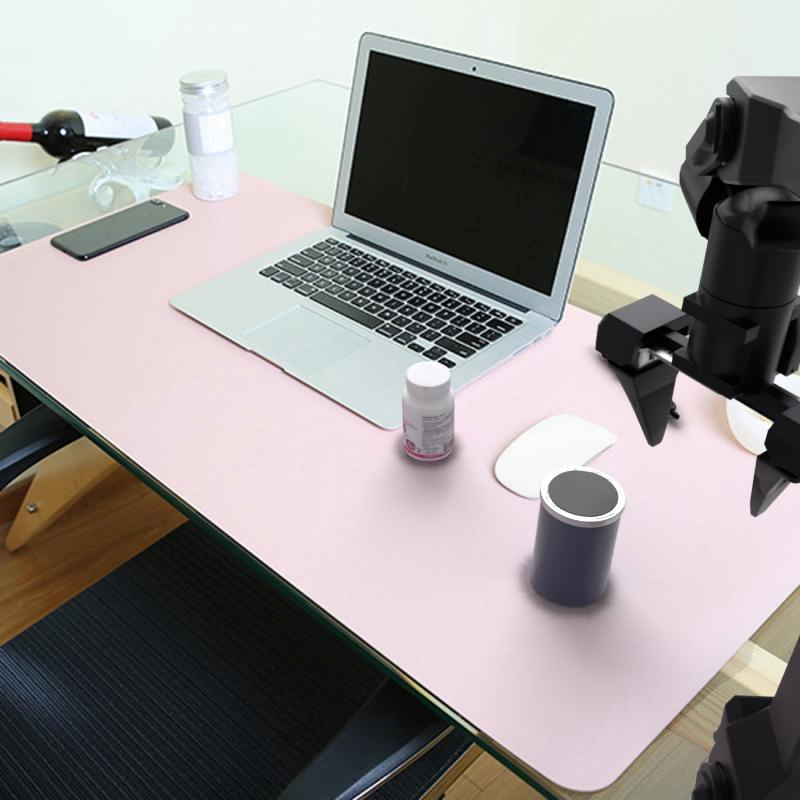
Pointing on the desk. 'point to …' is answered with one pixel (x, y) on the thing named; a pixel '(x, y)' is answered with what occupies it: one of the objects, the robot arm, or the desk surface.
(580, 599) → the navy blue tumbler
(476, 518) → the desk surface
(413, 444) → the pill bottle
